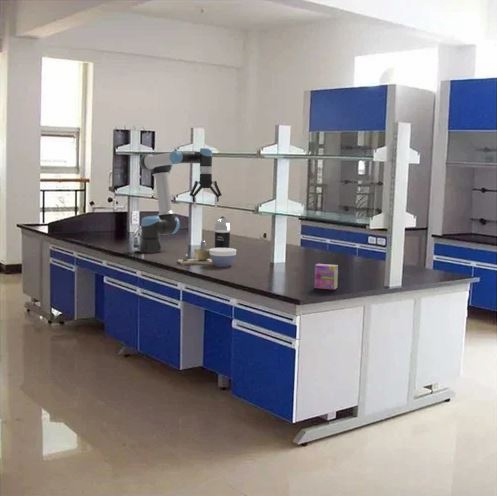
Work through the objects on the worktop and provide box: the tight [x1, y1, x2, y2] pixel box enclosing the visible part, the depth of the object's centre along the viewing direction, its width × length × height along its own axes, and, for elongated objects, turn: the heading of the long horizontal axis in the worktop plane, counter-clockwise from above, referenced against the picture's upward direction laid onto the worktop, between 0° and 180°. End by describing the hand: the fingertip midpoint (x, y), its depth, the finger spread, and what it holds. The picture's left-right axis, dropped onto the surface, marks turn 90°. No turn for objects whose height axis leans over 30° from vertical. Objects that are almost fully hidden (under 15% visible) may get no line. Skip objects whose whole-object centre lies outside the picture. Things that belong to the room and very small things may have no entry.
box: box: [314, 263, 339, 290], centre depth 356 cm, size 10×6×12 cm, turn 66°
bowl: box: [209, 247, 237, 268], centre depth 419 cm, size 16×16×10 cm
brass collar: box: [193, 248, 211, 259], centre depth 429 cm, size 8×8×5 cm
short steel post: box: [182, 253, 189, 262], centre depth 426 cm, size 3×3×4 cm
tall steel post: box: [199, 240, 207, 261], centre depth 429 cm, size 5×5×12 cm
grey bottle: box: [214, 216, 231, 248], centre depth 460 cm, size 10×10×25 cm
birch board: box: [177, 258, 215, 266], centre depth 428 cm, size 12×20×1 cm, turn 110°
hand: (205, 207), depth 445 cm, fingers open, 13 cm apart
